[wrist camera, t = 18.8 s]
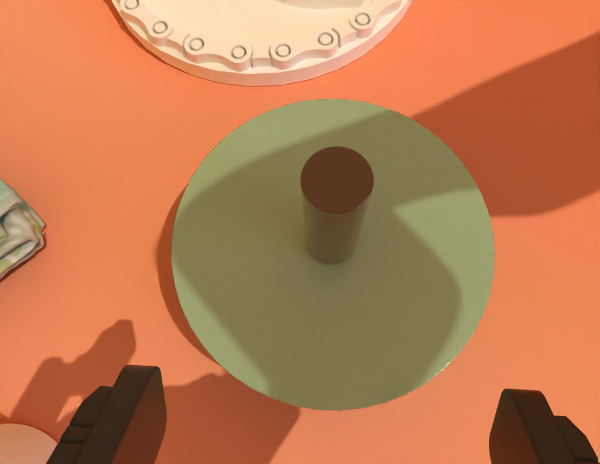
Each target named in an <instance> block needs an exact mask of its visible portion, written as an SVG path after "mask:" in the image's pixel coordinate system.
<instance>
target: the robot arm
mask: <svg viewBox="0 0 600 464" xmlns="http://www.w3.org/2000/svg"><path fill="white" fill-rule="evenodd" d="M166 420H167V413H166V405H165V398H164V391H163V384H162V377H161V371H160V368H159V367H157V366H141V365H126V366H124V368H123V369H122V371H121V372H120V374H119V376H118V378H117V380H116V382H115V384H114V386H113V387H107V386H100V387H99V388H98V389H97V390H95V391H94V392H93V393H92V394H91V395H90V396H89V397H87V398H86V399H85V400H84V401H83V402H82V403H81V405H80V406H79V408H78V410H77V411H76V413H75V415H74V417H73V418H72V420H71V422H70V426H68V427H67V428H66V430H65V432H64V434H63V435H62V437H61V441H60V443H58V444H57V446H56V447H55V449H54V451H53V452H52V454H51V456H50V457H49V459H48V461H47V463H46V464H154V462H155V460H156V457H157V454H158V451H159V449H160V446H161V443H162V440H163V437H164V433H165V428H166ZM489 451H490V458H491V462H492V464H600V463H598V458H597V456H596V454H595V452H594V450H593V448H592V447H591V445H590V443H589V441H588V439H587V437H586V436H585V435H584V434H583V433H582V432H581V431H580V430H579V429H578V428H577V427H576V426H575V425H574V424H573V423H572V422H571V421H570V420H569V419H568V418H567V417H566V416H554V415H553V413H552V411H551V409H550V407H549V405H548V403H547V401H546V398H545V397H544V395H543V394H542V393H541V392H540V391H536V390H520V389H504V390H503V392H502V394H501V397H500V400H499V404H498V407H497V411H496V415H495V418H494V422H493V425H492V429H491V432H490V438H489Z"/></svg>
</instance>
